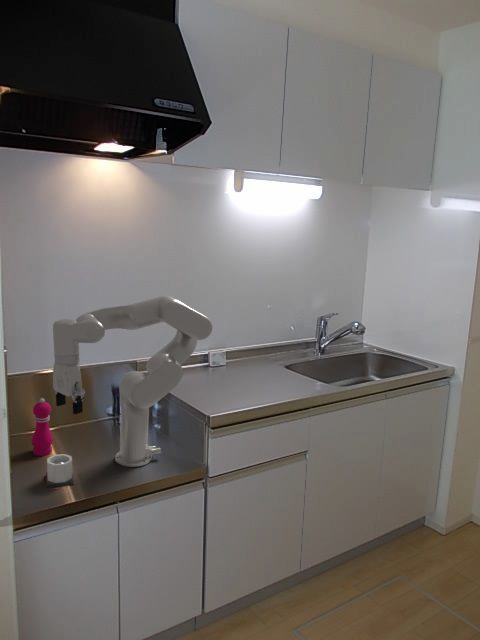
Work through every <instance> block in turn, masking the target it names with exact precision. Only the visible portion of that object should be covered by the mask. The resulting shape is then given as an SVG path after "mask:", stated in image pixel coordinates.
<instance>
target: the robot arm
mask: <svg viewBox="0 0 480 640" xmlns="http://www.w3.org/2000/svg"><path fill="white" fill-rule="evenodd" d="M159 323H165V324H167V325H169V326H170V327H172V328H174V329H176V334H175V335H174V337H173V338H172V340H170V341H169V342H168V343H167V344H166V345H165V346H163V347H162V348H161V349H160V350H159V351H157V352H156V353H155V354H153V355H152V356H151V357H150V358H149V359H148V360H147V362H146V365H145V366H146V372H147V373H148V375H147V376H146V375H145V374H143V372H140V371H137V370H131V371H128V372H126V373H125V374H124V375H123V376H122V377H121V379H120V382H119V389H118V390H119V399H120V421H119V422H120V423H119V424H120V427H119V428H120V432H119V434H120V436H119V451H118V452H117V453H116V454H115V456H114V461H115V462H116V463H117V464H118V465H121V466H123V467H128V468H129V467H130V468H135V467H142V466H145V465H147V464H149V463H150V462H151V461H152V459H153V458H152V457H153V455H154V454H155V455H157V454H162V449H161V447H157V445H153V446H150V445H149V417H150V415H149V414H150V413H149V412H150V408H151V407H153V406H154V405H156V403H158V402H159V401H161V400H162V399H163V398H164V397H166V395H168V394H170V392H172V390H173V389H175V388H176V387H177V386H178V385H179V384H180V383H181V380H182V379H183V375H184V371H183V370H184V369H183V366H182V364H184V362H186V361H187V359H189V358H190V357H191V356H192V355H193V354H194V351H195V350H196V347H197V343H198V341H202V340H206V339H207V338H209V336H210V335H211V334H212V332H213V324H212V321H211V320H210V318H209V317H208V316H205V315H204V314H202V313H200V312H198V311H197V310H195V309H193V308H191V307H190V306H188V305H186V304H185V303H183V302H181V301H180V300H179V299H176V298H174V297H172V296H169V295H162V296H157V297H154V298H150V299H146V300H142V301H139V302H136V303H132V304H128V305H127V304H126V305H119V306H112V307H105V308H100V309H96V310H93V311H89V312H85V313H83V314H81V315H79V316H77V318H76V319H75V320H74V319H67V318H65V319H64V318H63V319H58V320H56V321H54V322H53V325H52V333H53V334H52V335H53V336H52V338H53V354H54V355H53V356H54V362H53V369H52V371H53V372H52V379H51V380H52V381H51V382H52V386H53V387H52V388H53V390H54V394H55V404H56V405H55V406H56V407H60V406H64V405H66V403H67V402H66V401H67V400H66V397H68V398H69V397H71V398H72V401H73V402H72V414H73V415H74V416H75V415H78V414H81V413H83V411H84V410H83V401H84V398H85V395H86V390H85V389H84V388H83V384H82V373H81V368H80V345H79V343H81V344H96V343H98V342H100V341H101V340H102V339H103V338H104V336H105V332H106V331H107V330H114V329H122V330H129V331H132V330H133V331H134V330H139V329H143V328H146V327H149V326H153V325H156V324H159ZM76 396H77V397H76Z"/></svg>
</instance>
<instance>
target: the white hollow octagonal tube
mask: <svg viewBox="0 0 480 640" xmlns="http://www.w3.org/2000/svg"><path fill="white" fill-rule="evenodd" d="M56 460H64V461H66V463H63V464H54V463H53V462H54V461H56ZM46 461H47V467H46V469H47V471H46V472H47V478H48V481H50V482H53V483H61V482H66V481H68V480H70V479H71V478H72V474H73V456H72V455H69V454H64V453H63V454H62V453H61V454H53V455H51V456H50V457H48V458H47V459H46Z"/></svg>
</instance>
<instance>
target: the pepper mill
mask: <svg viewBox="0 0 480 640" xmlns="http://www.w3.org/2000/svg"><path fill="white" fill-rule="evenodd" d="M32 408H33V409H32V413H33V415H34V421H35V429H34V432H33V434H32V436H31V441H30V443H31V445H32V446H33V447H32V453H33V455H34V456H37V457H38V456H39V457H43V456H44V457H45V456H48V455H50V454H51V453H52V452H53V446H52V445H53V443H54V436H53V434H52V431H51V429H50V426H49V421H50V419H51V418H50V414H51V412H52V406H51V405H50V403H49V402H46V400H45V398H44V397H41V398H40V399H39V402H37V403H36V404H34V406H33V407H32Z"/></svg>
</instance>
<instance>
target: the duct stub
mask: <svg viewBox="0 0 480 640" xmlns="http://www.w3.org/2000/svg"><path fill="white" fill-rule="evenodd" d="M53 463H54V464H63V463H66V461H64V460H56V461H54V462H53ZM45 477H46V478H45V479H46V480H45V481H46V482H45V483H46V484H45V485H46V488H52V487H53V488H54V487H62V486H63V487H64V486H72V485H73V486H74V475H73V473H72V478H71V479H70V480H68V481H66V482H61V483H53V482H50V481H48V478H47V471H45Z"/></svg>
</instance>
